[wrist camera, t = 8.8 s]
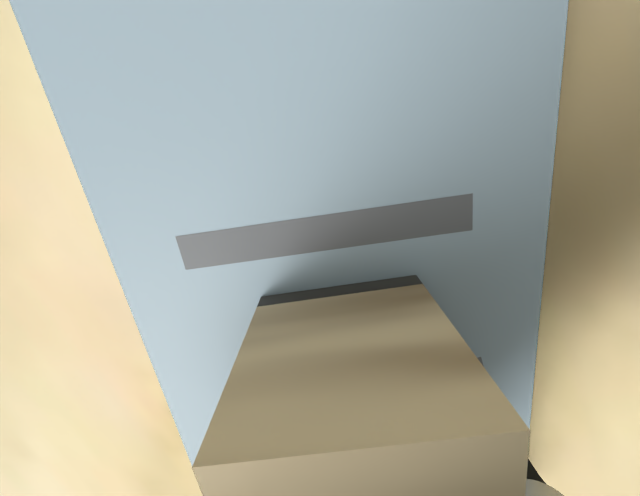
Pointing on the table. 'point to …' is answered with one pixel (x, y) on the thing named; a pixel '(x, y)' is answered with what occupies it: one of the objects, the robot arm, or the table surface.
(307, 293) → the block
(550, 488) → the robot arm
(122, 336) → the table surface
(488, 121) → the board
